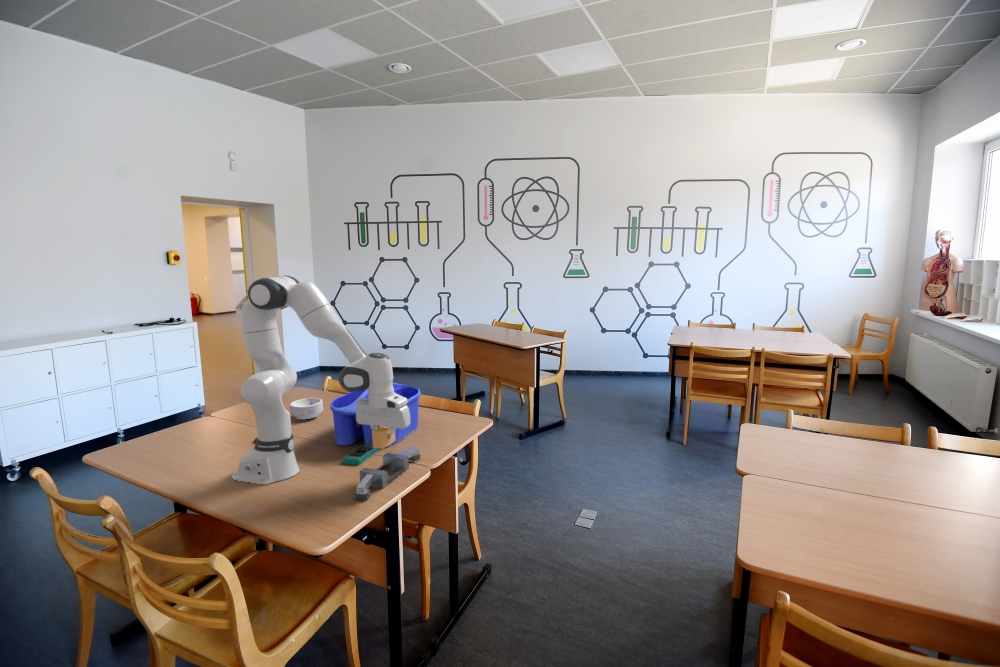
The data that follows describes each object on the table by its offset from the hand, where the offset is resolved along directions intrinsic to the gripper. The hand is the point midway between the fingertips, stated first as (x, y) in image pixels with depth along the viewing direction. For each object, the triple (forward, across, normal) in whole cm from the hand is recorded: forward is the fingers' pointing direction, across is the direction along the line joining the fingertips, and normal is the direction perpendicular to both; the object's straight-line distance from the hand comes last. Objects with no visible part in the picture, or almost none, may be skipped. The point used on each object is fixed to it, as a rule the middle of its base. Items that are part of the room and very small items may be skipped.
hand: (384, 437), depth 177 cm
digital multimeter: (+15, -20, +12) cm, 27 cm away
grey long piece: (+14, 0, 0) cm, 15 cm away
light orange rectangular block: (+2, 0, 0) cm, 2 cm away
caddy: (+15, -28, +37) cm, 49 cm away
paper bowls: (+14, -75, +45) cm, 88 cm away
